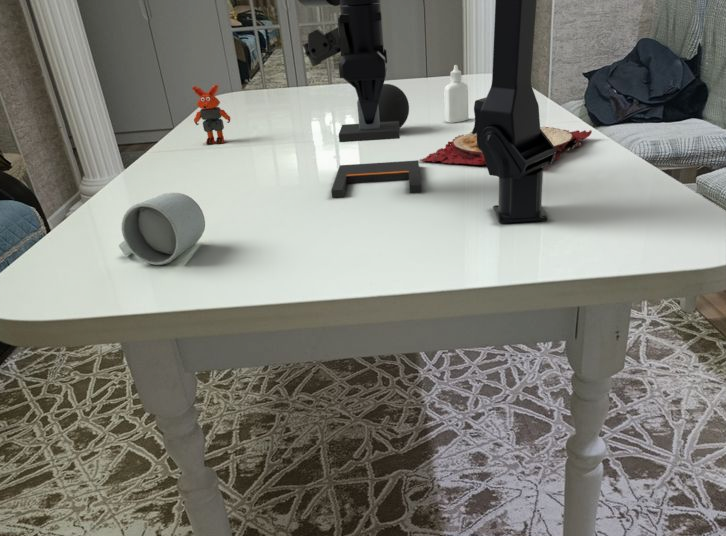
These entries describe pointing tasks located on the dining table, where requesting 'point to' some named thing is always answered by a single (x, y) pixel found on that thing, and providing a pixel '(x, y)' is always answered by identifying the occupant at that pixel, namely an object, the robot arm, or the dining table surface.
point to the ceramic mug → (162, 228)
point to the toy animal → (210, 114)
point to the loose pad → (369, 129)
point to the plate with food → (469, 153)
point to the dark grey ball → (393, 105)
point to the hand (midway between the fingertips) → (369, 121)
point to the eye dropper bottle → (456, 98)
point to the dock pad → (377, 175)
